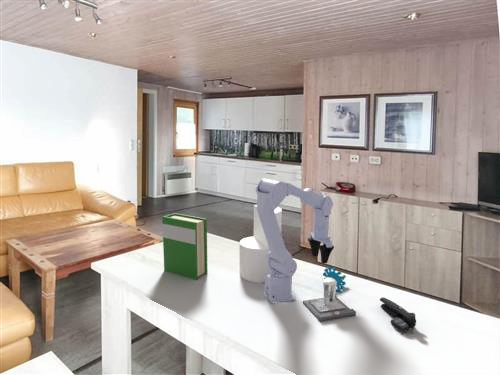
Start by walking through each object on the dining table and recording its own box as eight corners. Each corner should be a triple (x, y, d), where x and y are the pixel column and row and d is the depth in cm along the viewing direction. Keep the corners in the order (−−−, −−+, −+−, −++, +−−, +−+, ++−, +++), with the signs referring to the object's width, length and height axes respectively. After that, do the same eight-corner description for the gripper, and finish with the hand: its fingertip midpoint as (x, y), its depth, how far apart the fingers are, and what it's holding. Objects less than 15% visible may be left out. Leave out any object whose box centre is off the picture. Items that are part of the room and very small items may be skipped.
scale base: (320, 322, 114) (320, 316, 114) (302, 302, 127) (302, 298, 126) (355, 316, 118) (356, 311, 118) (335, 298, 130) (335, 293, 130)
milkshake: (318, 301, 125) (319, 274, 123) (332, 300, 126) (334, 273, 124) (322, 307, 120) (323, 279, 119) (337, 306, 121) (339, 278, 120)
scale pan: (320, 313, 118) (320, 311, 118) (309, 302, 125) (309, 300, 125) (345, 309, 121) (345, 307, 121) (333, 298, 128) (333, 297, 128)
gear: (331, 291, 132) (321, 266, 137) (321, 297, 136) (312, 273, 141) (352, 288, 138) (342, 264, 143) (343, 294, 142) (333, 271, 147)
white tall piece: (271, 263, 162) (272, 203, 158) (287, 279, 146) (288, 212, 141) (234, 268, 157) (234, 206, 152) (246, 284, 141) (247, 215, 136)
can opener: (421, 334, 108) (423, 317, 107) (400, 335, 107) (401, 318, 107) (391, 305, 126) (392, 290, 125) (372, 306, 125) (373, 291, 124)
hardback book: (207, 273, 151) (206, 218, 147) (196, 280, 145) (195, 222, 141) (176, 265, 160) (174, 213, 156) (164, 270, 154) (162, 216, 150)
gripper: (340, 230, 132) (338, 265, 134) (321, 220, 145) (320, 252, 148) (323, 231, 130) (321, 267, 132) (305, 221, 143) (304, 253, 146)
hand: (319, 259), depth 140 cm, fingers open, 7 cm apart
